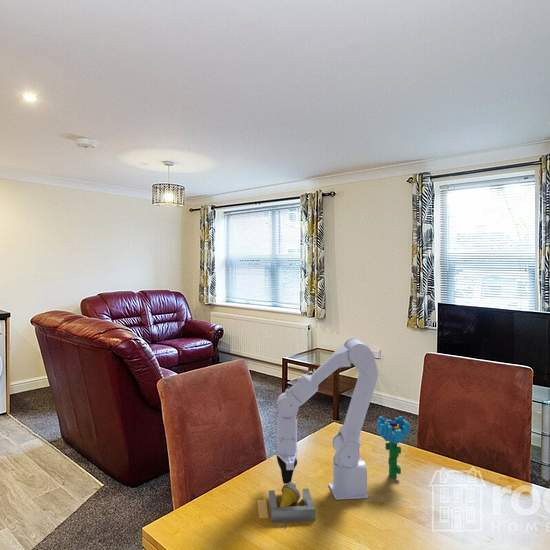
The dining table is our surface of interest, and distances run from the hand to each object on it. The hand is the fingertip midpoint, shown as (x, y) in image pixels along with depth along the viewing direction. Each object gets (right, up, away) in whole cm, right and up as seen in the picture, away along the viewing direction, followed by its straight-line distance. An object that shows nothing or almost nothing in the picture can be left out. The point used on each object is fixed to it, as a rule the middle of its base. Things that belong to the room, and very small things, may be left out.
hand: (286, 482), depth 116 cm
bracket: (+1, -3, -9) cm, 9 cm away
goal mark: (-7, -3, -8) cm, 11 cm away
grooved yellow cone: (+3, +1, -2) cm, 3 cm away
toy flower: (+33, -3, +9) cm, 35 cm away
